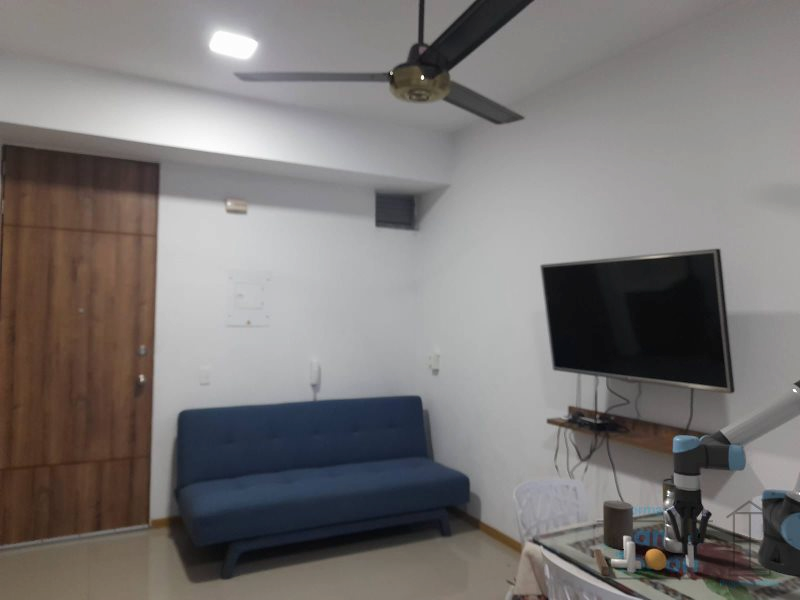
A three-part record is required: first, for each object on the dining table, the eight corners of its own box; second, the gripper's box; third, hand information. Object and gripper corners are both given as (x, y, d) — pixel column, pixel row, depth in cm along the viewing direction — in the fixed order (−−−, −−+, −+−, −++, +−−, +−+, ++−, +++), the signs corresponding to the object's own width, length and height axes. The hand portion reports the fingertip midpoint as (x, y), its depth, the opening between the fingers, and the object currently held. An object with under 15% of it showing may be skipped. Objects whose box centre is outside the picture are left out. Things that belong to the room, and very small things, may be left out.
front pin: (639, 559, 177) (610, 557, 178) (641, 563, 174) (612, 561, 176) (639, 566, 177) (610, 564, 178) (641, 570, 174) (612, 568, 176)
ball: (639, 556, 179) (655, 569, 178) (643, 563, 173) (660, 577, 172) (651, 541, 178) (667, 555, 177) (656, 548, 172) (673, 563, 171)
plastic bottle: (688, 556, 185) (686, 494, 186) (666, 555, 186) (664, 493, 187) (682, 549, 191) (681, 488, 192) (661, 547, 192) (659, 487, 194)
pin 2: (634, 569, 175) (634, 541, 175) (636, 573, 172) (635, 544, 173) (626, 569, 175) (625, 541, 176) (628, 572, 173) (627, 543, 173)
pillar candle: (603, 547, 193) (603, 503, 193) (603, 537, 202) (602, 495, 203) (634, 551, 190) (634, 506, 190) (632, 541, 199) (632, 497, 200)
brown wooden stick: (600, 557, 184) (600, 549, 185) (608, 575, 171) (608, 566, 171) (594, 556, 185) (594, 549, 185) (601, 574, 171) (601, 566, 171)
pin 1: (631, 563, 180) (630, 535, 180) (632, 566, 177) (632, 538, 178) (623, 562, 180) (622, 535, 180) (624, 565, 178) (624, 538, 178)
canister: (687, 536, 203) (685, 479, 204) (658, 528, 211) (656, 474, 212) (699, 529, 211) (697, 474, 212) (670, 522, 218) (668, 469, 219)
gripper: (706, 484, 177) (708, 562, 176) (661, 483, 179) (663, 559, 178) (714, 491, 170) (717, 572, 168) (668, 489, 172) (670, 569, 171)
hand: (690, 565), depth 173 cm, fingers closed
